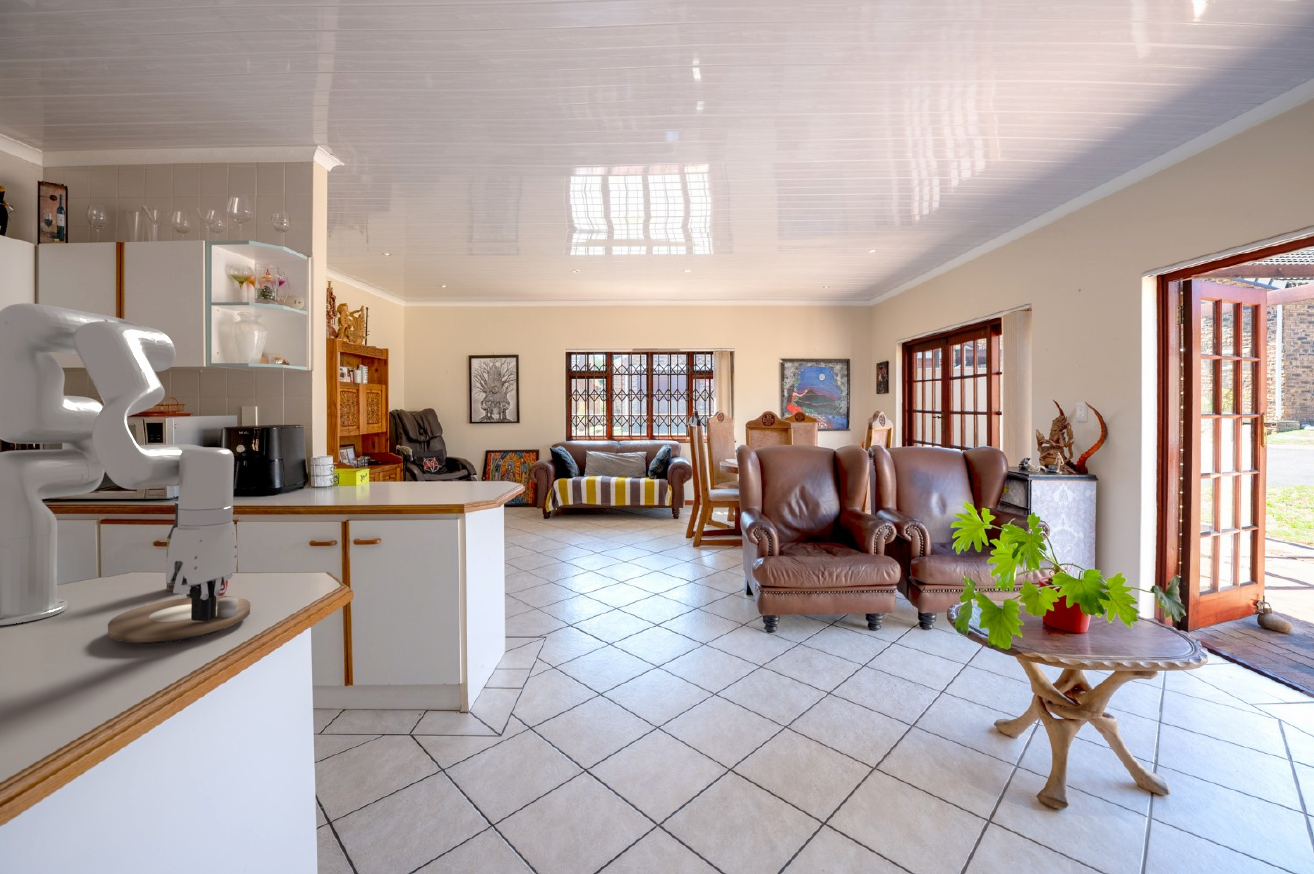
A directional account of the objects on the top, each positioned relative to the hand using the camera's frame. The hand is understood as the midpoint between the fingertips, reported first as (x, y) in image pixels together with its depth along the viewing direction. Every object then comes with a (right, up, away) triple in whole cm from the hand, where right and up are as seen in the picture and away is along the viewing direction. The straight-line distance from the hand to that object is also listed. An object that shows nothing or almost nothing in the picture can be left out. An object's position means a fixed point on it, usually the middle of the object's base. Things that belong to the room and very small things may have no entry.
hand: (203, 619), depth 98 cm
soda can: (-16, -3, +21) cm, 27 cm away
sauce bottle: (-26, -2, +26) cm, 37 cm away
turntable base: (-7, -3, +4) cm, 9 cm away
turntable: (-7, -2, +4) cm, 9 cm away
